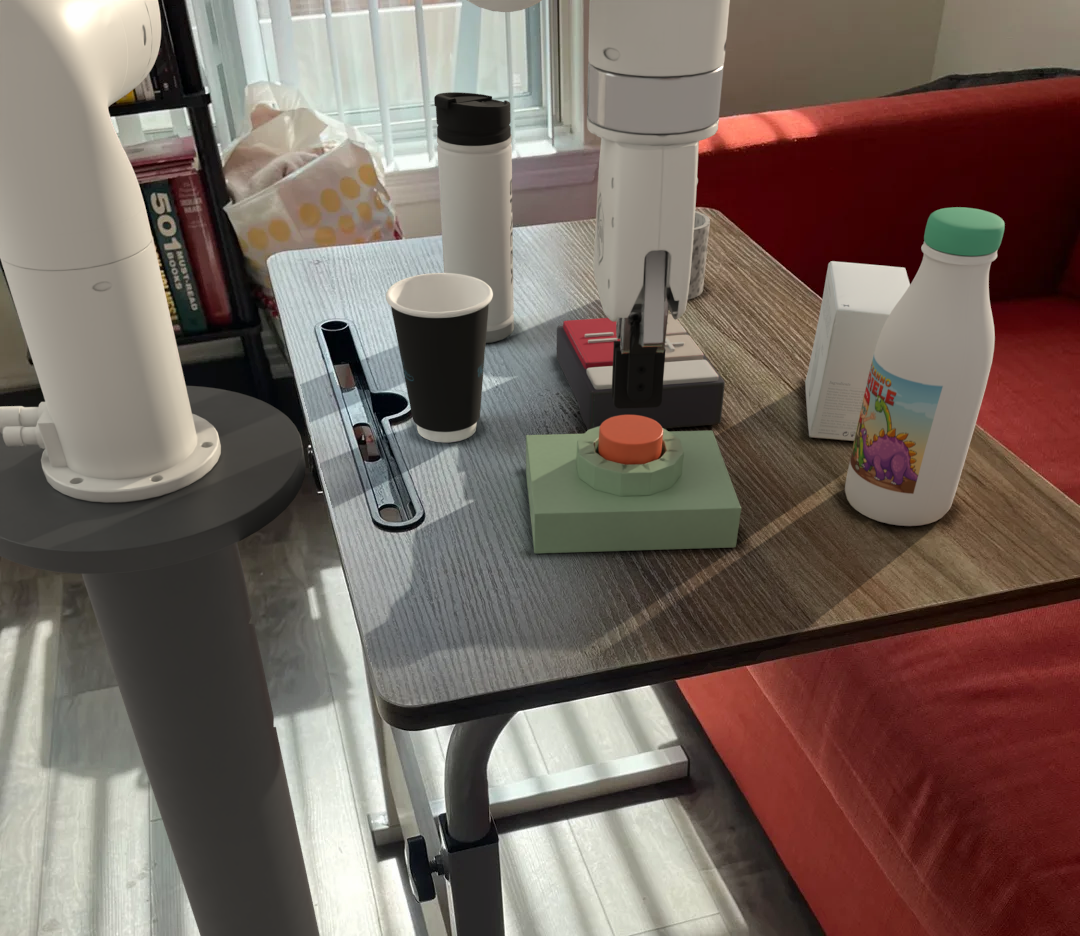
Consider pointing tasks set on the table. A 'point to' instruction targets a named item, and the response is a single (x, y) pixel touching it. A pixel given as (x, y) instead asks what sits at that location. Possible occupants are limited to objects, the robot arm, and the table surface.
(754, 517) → the table surface
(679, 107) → the robot arm
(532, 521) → the button housing
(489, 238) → the travel mug
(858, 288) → the cosmetics box
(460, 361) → the dixie cup
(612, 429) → the push button
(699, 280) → the mug
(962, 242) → the milk bottle
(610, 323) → the calculator
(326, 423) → the table surface
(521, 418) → the table surface
